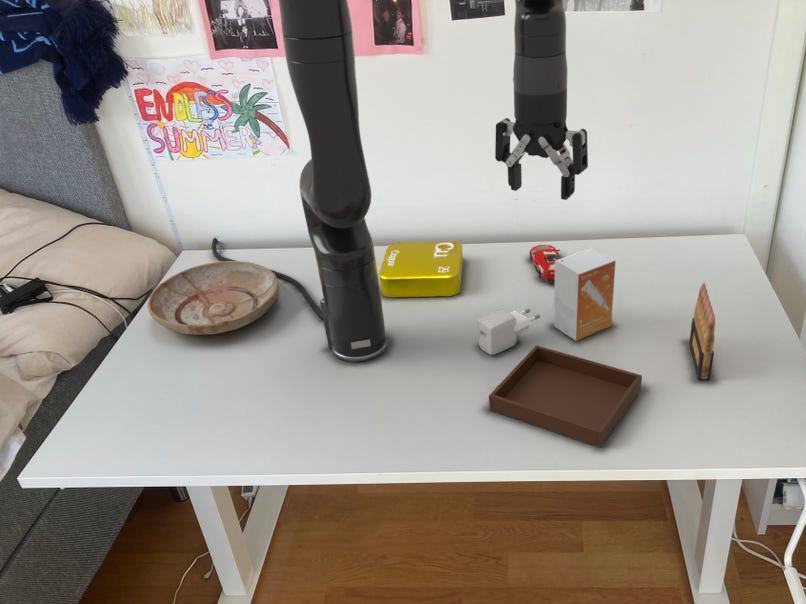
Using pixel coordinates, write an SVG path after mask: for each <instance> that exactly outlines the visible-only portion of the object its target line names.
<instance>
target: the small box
mask: <svg viewBox="0 0 806 604" xmlns="http://www.w3.org/2000/svg"><path fill="white" fill-rule="evenodd" d="M615 273H616V259H614V258H612V257H610V256H609V255H607V254H606V253H604V252H601V251H600V250H598V249H596V248H594V247H589V248H586V249H583V250H580V251H576V252H573V253H571V254H569V255H566V256H564V257H561V259H559V260H556V261H555V281H554V296H553V297H554V300H553V301H554V303H553V326H554V327H555V328H556V329H558V330H559V331H560V332H562V333H563V334H565V335H566V336H567V337H569V338H571V339H573V340H574V341H575V342H578V341H580V340H582V339H584V338H586V337H588V336H591V335H594V334H596V333H598V332H600V331H602V330H605V329H607V328H610V327H611V326H612V318H613V304H614V290H615V275H616V274H615Z"/></svg>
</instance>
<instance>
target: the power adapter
mask: <svg viewBox="0 0 806 604" xmlns="http://www.w3.org/2000/svg"><path fill="white" fill-rule="evenodd" d="M529 313H531V309H530V308H526V309H524V310H522V311H520V312H519V311H517V310H512V311H510V312H509V311H507V310H506V309H499V310H496V311H494V312H492V313H490V314H488V315H485V316H483V317H481V318H479V320H478V321H477V336H478V337H477V341H478V346H479V348H480V349H481V350H482V351H484V352H485V353H487V354H489V355H490V356H493V355H497V354H499V353H501V352H503V351H505V350H508V349H509V348H511V347H513V346H515V345H516V343H517V341H518V340H517V339H518V335H517V333H520V332H522V331H524V330H526V329H528V328H530V327H531V326H532V322H534V321H537V320H538V319H540V318H541V315H540V314H539V313H537V314H535V315H533V316H532V317H526V316H525V315H527V314H529Z"/></svg>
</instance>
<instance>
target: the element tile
mask: <svg viewBox="0 0 806 604" xmlns="http://www.w3.org/2000/svg"><path fill="white" fill-rule="evenodd" d="M463 265H464V258H463V246H462V243H460V242H459V241H457V240H456V241H455V240H454V241H453V240H447V241H445V240H444V241H413V242H412V241H409V242H407V241H405V242H393V243H390V244H389V245H388V246H387V247H386V249H385V253H384V256H383V260H382V263H381V267H380V269H379V270H380V271H379V273H378V279H379V286H380V293H381V294H382V296H384V297H386V298H390V299H391V298H393V299H394V298H430V297H434V298H435V297H452V296H455V295H457V294H458V293H459V292H460V290H461V283H462V275H463Z"/></svg>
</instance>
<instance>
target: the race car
mask: <svg viewBox="0 0 806 604" xmlns="http://www.w3.org/2000/svg"><path fill="white" fill-rule="evenodd" d="M560 251H561V249H559V248H557V249H556V247H555V246H553V245H550V244H538V245H535V246H533V247H532V248H531V249H530V250H529V258H530V261H531V262H532V265H533V266H534V269H535V270H536V272H537V274H538V277H539V280H542V281H543V282H547V283H548V282H549V283H550V282H551V283H552V282H555V261H556V260H559V259H561V258H562V257H561V255H560V253H559V252H560Z"/></svg>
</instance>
